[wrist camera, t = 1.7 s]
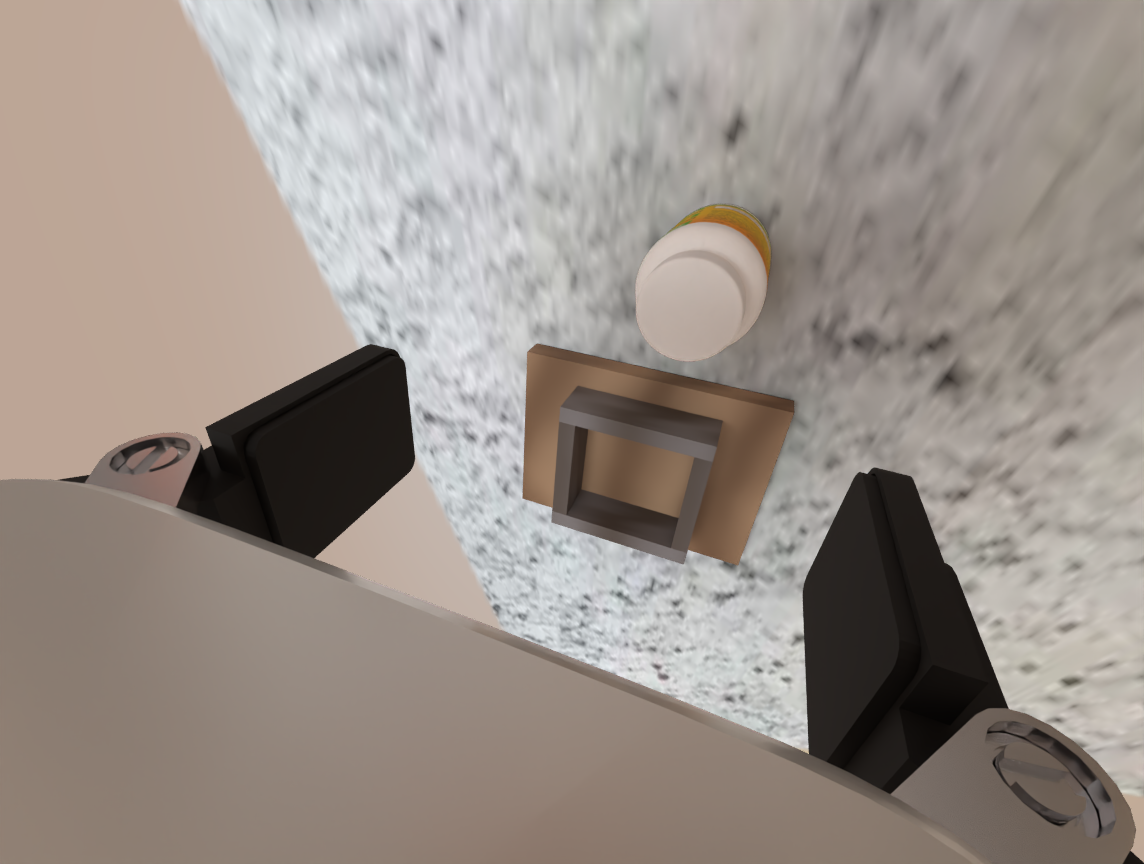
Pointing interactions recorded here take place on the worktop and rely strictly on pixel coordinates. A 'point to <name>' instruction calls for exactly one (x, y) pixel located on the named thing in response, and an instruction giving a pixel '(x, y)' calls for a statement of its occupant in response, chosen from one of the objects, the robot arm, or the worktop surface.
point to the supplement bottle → (703, 283)
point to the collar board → (648, 453)
